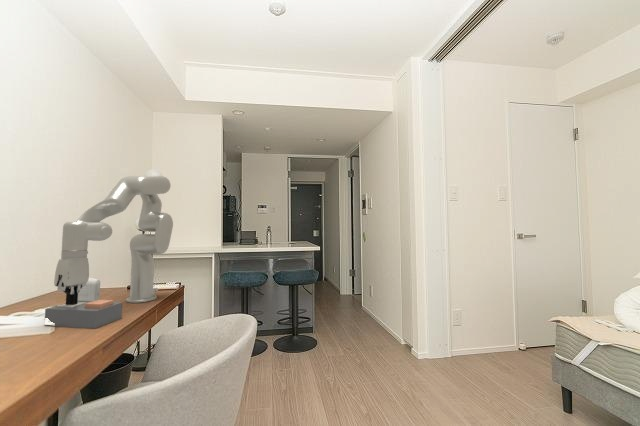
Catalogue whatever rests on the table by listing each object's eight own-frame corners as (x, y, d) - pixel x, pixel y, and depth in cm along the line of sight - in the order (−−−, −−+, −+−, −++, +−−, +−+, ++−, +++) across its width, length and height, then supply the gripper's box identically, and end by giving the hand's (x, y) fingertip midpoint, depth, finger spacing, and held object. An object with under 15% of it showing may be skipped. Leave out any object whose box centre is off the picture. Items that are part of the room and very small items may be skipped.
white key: (71, 313, 114) (72, 301, 114) (86, 314, 113) (86, 302, 113) (56, 318, 108) (57, 305, 108) (71, 319, 107) (72, 306, 107)
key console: (75, 315, 117) (76, 300, 117) (121, 318, 115) (122, 302, 115) (44, 325, 105) (45, 308, 105) (95, 328, 103) (96, 311, 103)
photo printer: (101, 304, 133) (102, 277, 134) (95, 307, 129) (96, 278, 130) (75, 305, 132) (77, 277, 132) (69, 307, 128) (70, 278, 128)
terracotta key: (98, 311, 113) (98, 299, 113) (112, 312, 112) (113, 300, 112) (84, 316, 107) (84, 303, 107) (99, 317, 106) (100, 304, 106)
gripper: (82, 253, 119) (80, 299, 118) (45, 256, 104) (41, 309, 103) (100, 253, 119) (97, 299, 118) (64, 257, 104) (61, 310, 103)
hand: (71, 304), depth 110 cm, fingers closed
